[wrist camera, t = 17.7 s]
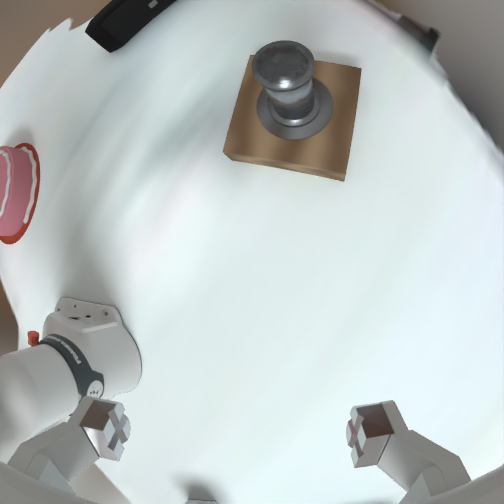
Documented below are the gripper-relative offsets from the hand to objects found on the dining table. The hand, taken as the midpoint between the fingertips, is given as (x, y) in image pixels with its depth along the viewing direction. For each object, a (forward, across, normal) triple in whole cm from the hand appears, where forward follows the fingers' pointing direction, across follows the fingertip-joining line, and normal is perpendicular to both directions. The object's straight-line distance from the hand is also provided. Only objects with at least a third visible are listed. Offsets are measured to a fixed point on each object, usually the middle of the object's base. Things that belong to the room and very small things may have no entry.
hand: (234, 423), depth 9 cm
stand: (+37, -7, -15) cm, 41 cm away
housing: (+33, -6, -16) cm, 37 cm away
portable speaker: (+53, +20, -44) cm, 71 cm away
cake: (+50, +58, -7) cm, 77 cm away
